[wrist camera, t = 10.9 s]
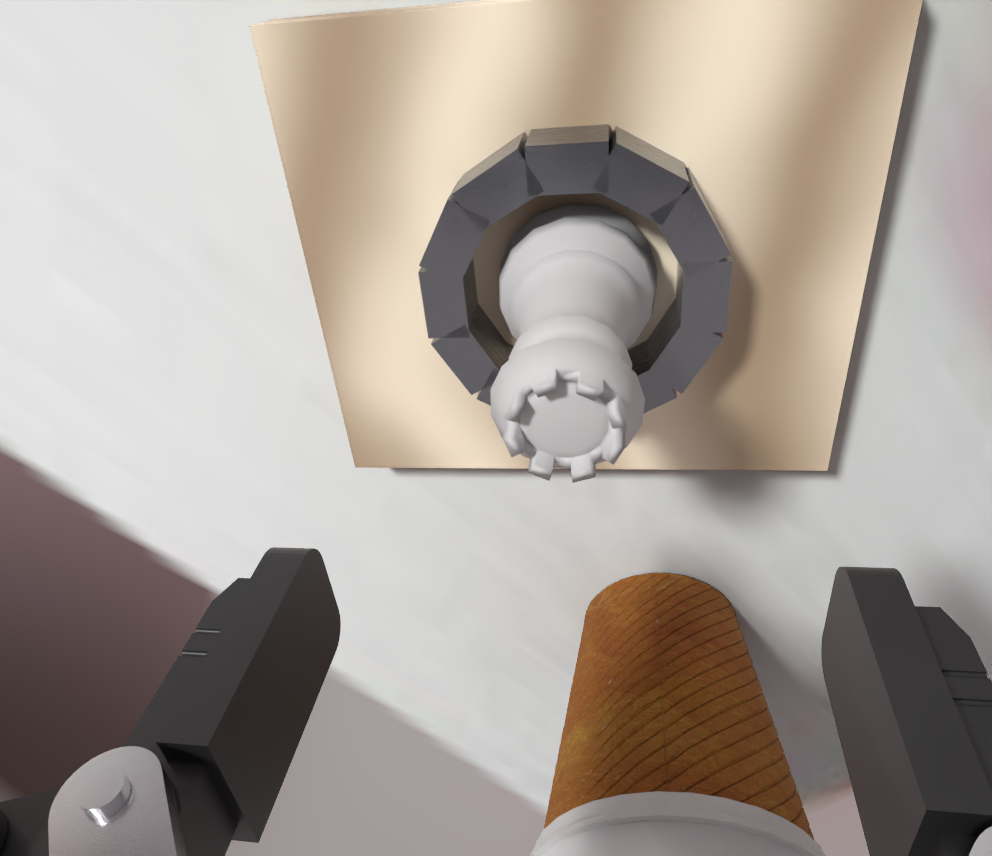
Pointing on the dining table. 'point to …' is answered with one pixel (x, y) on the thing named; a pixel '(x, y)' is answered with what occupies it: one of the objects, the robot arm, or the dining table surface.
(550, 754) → the dining table surface
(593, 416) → the rook chess piece
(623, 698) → the disposable coffee cup
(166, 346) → the dining table surface
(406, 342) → the birch base plate
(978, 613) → the dining table surface
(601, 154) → the steel socket collar
